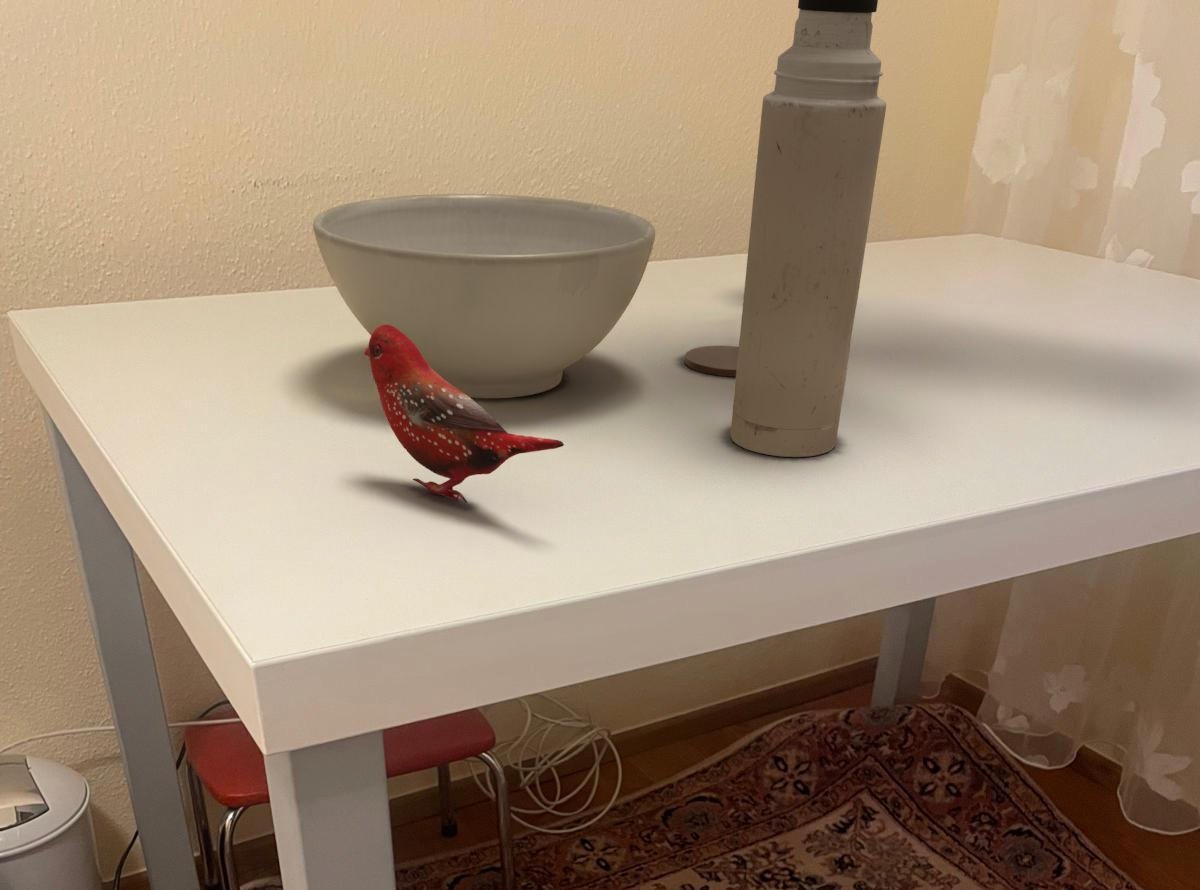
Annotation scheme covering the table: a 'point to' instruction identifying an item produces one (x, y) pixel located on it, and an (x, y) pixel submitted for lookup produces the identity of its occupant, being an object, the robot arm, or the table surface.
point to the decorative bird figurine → (439, 416)
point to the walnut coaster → (713, 360)
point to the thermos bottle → (808, 232)
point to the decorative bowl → (488, 280)
